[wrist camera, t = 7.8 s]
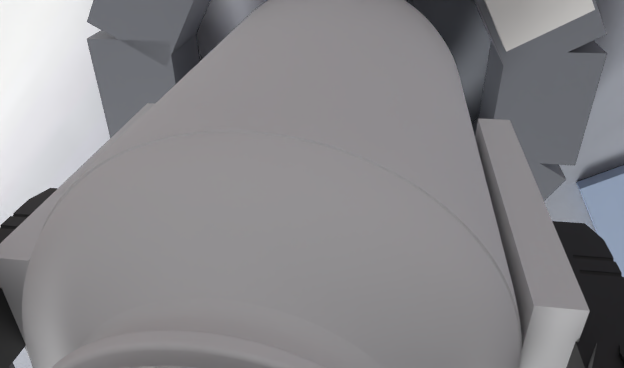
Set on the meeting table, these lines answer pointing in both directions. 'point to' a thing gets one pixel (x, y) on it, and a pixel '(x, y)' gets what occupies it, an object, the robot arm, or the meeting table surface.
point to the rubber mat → (607, 209)
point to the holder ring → (497, 87)
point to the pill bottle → (285, 212)
